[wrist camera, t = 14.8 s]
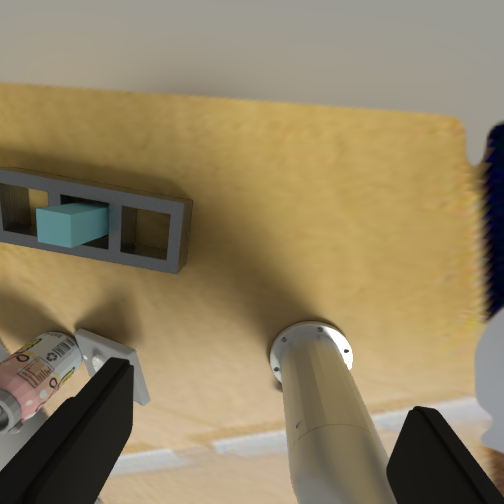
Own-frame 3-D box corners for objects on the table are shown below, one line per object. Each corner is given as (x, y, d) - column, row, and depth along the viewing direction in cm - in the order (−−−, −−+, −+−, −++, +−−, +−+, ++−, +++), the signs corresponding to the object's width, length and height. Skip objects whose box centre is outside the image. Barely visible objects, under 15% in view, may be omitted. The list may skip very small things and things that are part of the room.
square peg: (117, 230, 36) (71, 247, 27) (91, 226, 36) (37, 241, 27) (117, 205, 35) (70, 214, 26) (91, 200, 35) (35, 208, 26)
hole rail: (185, 264, 37) (177, 274, 33) (21, 233, 37) (-8, 240, 33) (193, 200, 34) (184, 203, 31) (15, 167, 34) (-16, 166, 30)
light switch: (66, 334, 39) (121, 359, 32) (104, 315, 44) (159, 332, 37) (83, 379, 42) (138, 412, 34) (117, 357, 46) (172, 381, 39)
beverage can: (61, 382, 44) (-10, 454, 33) (22, 349, 43) (-67, 413, 31) (96, 355, 42) (33, 421, 31) (56, 319, 41) (-25, 375, 29)
